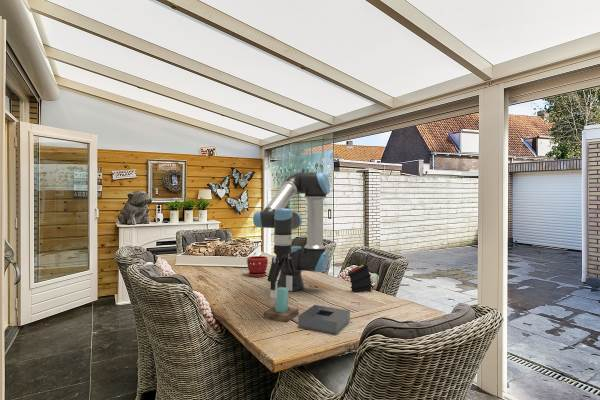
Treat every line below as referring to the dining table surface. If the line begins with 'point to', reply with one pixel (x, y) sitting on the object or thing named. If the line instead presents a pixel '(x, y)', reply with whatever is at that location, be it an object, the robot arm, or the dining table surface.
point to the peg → (281, 300)
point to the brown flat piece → (281, 314)
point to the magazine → (360, 278)
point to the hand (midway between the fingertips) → (281, 293)
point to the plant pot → (257, 266)
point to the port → (324, 319)
